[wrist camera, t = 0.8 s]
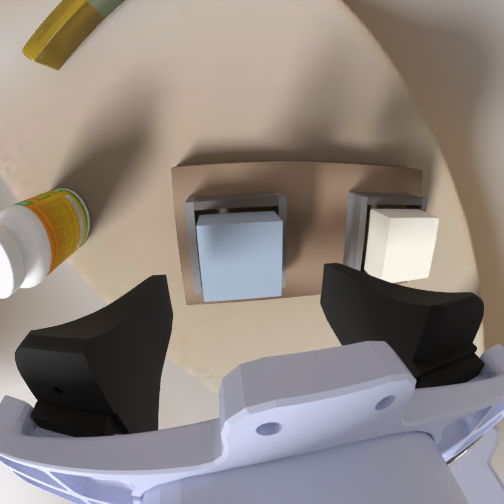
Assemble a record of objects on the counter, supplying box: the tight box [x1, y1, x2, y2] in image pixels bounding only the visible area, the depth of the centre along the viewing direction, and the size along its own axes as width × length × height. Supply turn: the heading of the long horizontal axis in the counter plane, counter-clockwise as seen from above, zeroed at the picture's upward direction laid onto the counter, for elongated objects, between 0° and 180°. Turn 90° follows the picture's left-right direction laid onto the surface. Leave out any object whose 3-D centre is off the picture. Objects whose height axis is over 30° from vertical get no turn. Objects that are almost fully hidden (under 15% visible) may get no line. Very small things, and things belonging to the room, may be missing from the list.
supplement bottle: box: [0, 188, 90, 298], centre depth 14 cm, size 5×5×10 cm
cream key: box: [364, 209, 439, 283], centre depth 17 cm, size 4×4×2 cm
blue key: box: [196, 211, 283, 302], centre depth 16 cm, size 4×4×2 cm
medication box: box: [22, 0, 124, 70], centre depth 11 cm, size 12×3×4 cm, turn 136°
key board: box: [171, 161, 427, 305], centre depth 19 cm, size 10×19×4 cm, turn 91°
